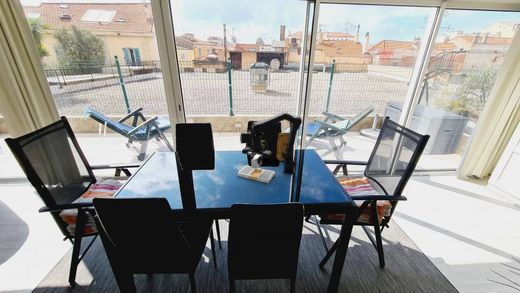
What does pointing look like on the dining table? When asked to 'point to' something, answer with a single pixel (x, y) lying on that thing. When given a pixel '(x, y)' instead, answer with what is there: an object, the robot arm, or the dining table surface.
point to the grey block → (255, 162)
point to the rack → (256, 174)
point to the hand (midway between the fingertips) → (256, 164)
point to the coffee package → (282, 145)
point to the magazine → (264, 147)
